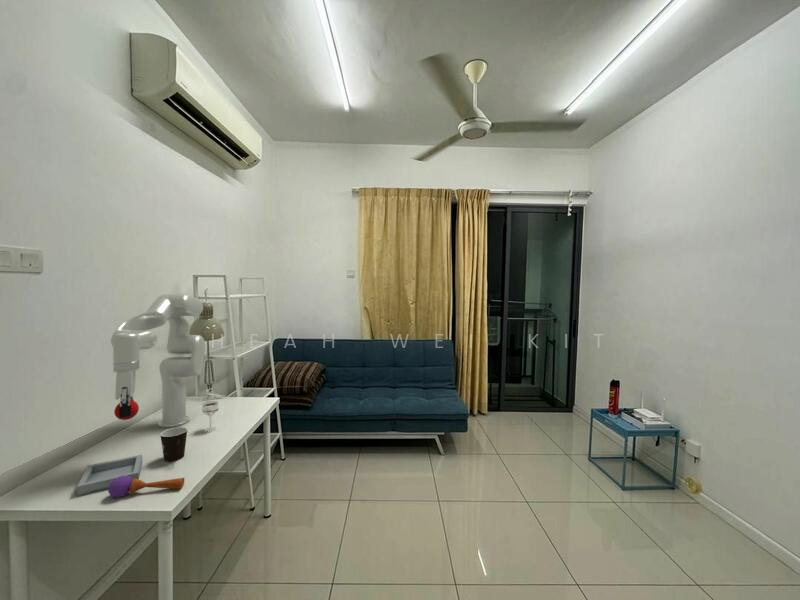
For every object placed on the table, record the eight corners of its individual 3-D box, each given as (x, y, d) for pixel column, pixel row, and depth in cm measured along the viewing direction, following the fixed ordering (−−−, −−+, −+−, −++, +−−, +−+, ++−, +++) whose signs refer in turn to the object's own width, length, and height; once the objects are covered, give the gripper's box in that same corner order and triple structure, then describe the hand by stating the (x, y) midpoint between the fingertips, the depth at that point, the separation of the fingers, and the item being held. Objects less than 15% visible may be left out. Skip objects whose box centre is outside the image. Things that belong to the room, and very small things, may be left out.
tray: (88, 473, 116) (87, 465, 116) (142, 462, 124) (142, 454, 124) (77, 496, 104) (76, 486, 104) (138, 481, 112) (138, 472, 112)
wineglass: (210, 425, 159) (210, 400, 158) (222, 427, 157) (222, 401, 157) (198, 431, 152) (198, 405, 152) (210, 433, 150) (210, 406, 150)
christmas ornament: (143, 417, 127) (143, 391, 127) (122, 424, 121) (121, 396, 121) (131, 414, 130) (131, 389, 130) (109, 421, 123) (109, 394, 123)
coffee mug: (164, 454, 131) (164, 428, 131) (189, 450, 134) (189, 425, 134) (154, 469, 120) (154, 441, 120) (182, 464, 123) (182, 438, 123)
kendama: (178, 481, 105) (103, 485, 100) (178, 498, 107) (104, 502, 102) (186, 468, 111) (115, 471, 106) (185, 484, 112) (115, 488, 107)
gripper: (117, 363, 130) (117, 408, 131) (109, 372, 116) (109, 423, 116) (141, 361, 134) (141, 405, 135) (136, 369, 120) (136, 418, 120)
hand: (126, 413), depth 125 cm, fingers closed on christmas ornament, 7 cm apart
